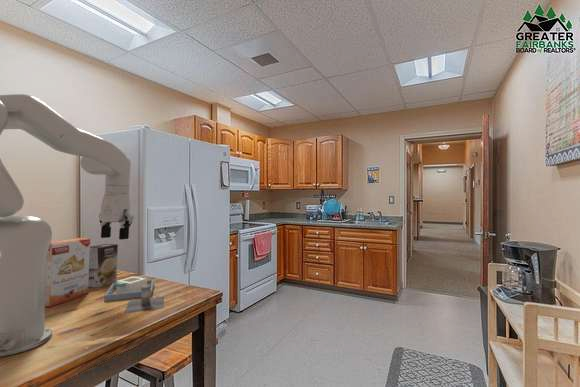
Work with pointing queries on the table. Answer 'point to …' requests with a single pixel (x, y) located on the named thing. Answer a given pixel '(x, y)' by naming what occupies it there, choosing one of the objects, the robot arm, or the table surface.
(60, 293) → the cracker box
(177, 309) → the table surface
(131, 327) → the table surface
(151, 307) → the board
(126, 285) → the collar
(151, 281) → the tray
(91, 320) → the table surface
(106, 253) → the coffee box
